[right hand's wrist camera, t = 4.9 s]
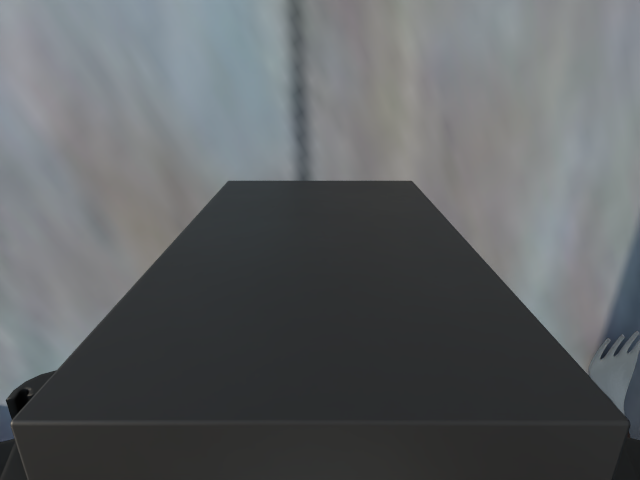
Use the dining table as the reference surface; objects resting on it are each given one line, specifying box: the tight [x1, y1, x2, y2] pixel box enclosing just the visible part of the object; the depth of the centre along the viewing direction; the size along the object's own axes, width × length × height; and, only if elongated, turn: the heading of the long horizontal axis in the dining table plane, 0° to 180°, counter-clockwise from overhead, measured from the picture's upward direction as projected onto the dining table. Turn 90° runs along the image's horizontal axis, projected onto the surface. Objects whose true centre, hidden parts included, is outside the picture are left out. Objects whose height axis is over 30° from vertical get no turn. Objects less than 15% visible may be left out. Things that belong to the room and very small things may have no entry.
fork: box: [589, 331, 640, 438], centre depth 25 cm, size 3×16×2 cm, turn 17°
